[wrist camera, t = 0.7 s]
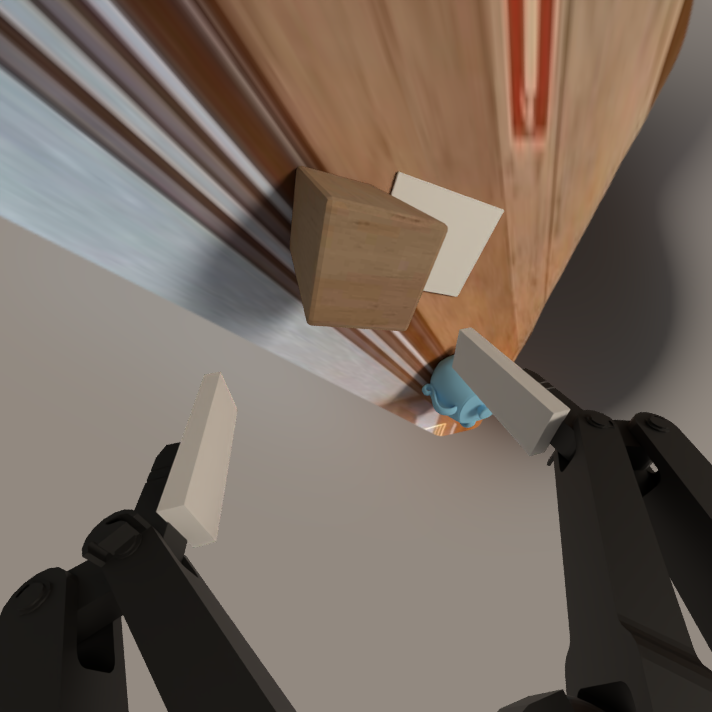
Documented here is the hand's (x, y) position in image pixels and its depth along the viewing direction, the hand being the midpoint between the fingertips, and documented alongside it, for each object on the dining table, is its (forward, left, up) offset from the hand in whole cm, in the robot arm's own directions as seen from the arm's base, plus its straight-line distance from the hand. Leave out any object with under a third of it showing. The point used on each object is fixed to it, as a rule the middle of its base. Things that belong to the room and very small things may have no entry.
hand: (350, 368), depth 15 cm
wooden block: (-2, +4, -29) cm, 29 cm away
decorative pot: (+24, +41, -29) cm, 56 cm away
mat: (-2, +21, -29) cm, 36 cm away
